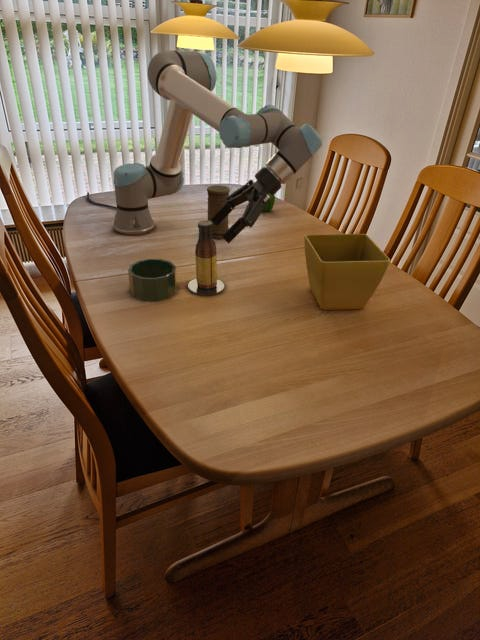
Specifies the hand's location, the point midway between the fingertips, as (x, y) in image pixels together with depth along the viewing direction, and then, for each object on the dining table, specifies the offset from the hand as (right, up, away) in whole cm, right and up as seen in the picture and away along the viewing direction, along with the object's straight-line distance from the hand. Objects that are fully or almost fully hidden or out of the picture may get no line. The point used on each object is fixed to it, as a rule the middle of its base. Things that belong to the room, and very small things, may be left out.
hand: (219, 231), depth 125 cm
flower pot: (+34, -19, +6) cm, 40 cm away
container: (-3, +7, +44) cm, 45 cm away
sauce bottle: (-4, -15, +8) cm, 18 cm away
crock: (-20, -16, +6) cm, 26 cm away
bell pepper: (+17, +24, +71) cm, 77 cm away
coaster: (-4, -15, +8) cm, 18 cm away
